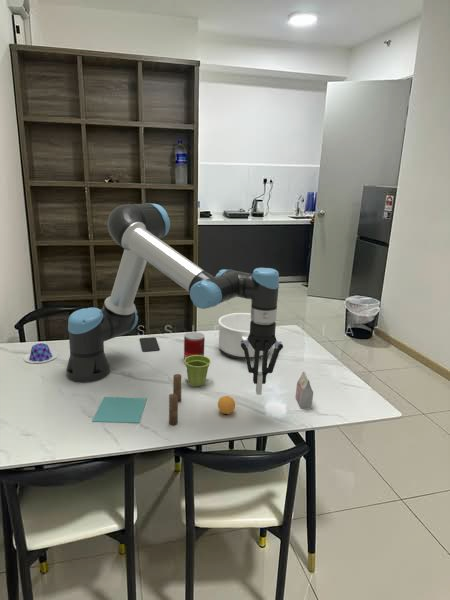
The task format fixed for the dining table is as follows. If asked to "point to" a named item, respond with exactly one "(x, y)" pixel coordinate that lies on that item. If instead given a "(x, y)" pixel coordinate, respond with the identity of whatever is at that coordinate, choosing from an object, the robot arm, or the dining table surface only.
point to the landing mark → (120, 410)
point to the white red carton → (304, 392)
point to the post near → (173, 409)
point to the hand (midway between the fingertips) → (258, 392)
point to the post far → (177, 386)
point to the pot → (235, 335)
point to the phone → (149, 344)
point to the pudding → (40, 353)
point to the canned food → (193, 344)
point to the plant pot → (197, 369)
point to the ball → (226, 404)
